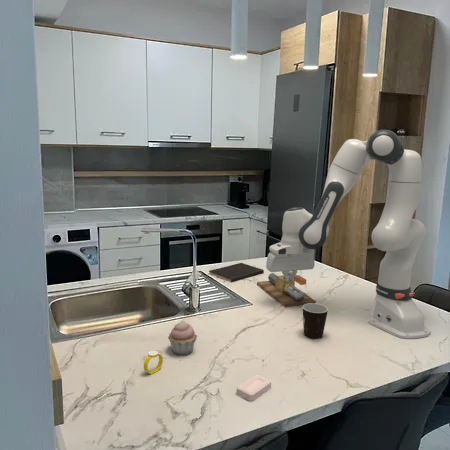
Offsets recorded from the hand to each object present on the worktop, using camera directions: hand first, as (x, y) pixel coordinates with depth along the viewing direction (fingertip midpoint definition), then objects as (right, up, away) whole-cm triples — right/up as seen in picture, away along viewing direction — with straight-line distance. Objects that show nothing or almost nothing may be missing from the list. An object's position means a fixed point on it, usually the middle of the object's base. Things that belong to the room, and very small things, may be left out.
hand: (289, 280), depth 176 cm
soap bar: (-18, -22, -59) cm, 66 cm away
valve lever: (+2, 0, +6) cm, 6 cm away
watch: (-47, -20, -51) cm, 72 cm away
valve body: (0, -8, +14) cm, 16 cm away
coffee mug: (+4, -16, -26) cm, 31 cm away
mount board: (0, -8, +14) cm, 16 cm away
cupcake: (-40, -17, -39) cm, 58 cm away
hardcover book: (-20, -2, +40) cm, 45 cm away
